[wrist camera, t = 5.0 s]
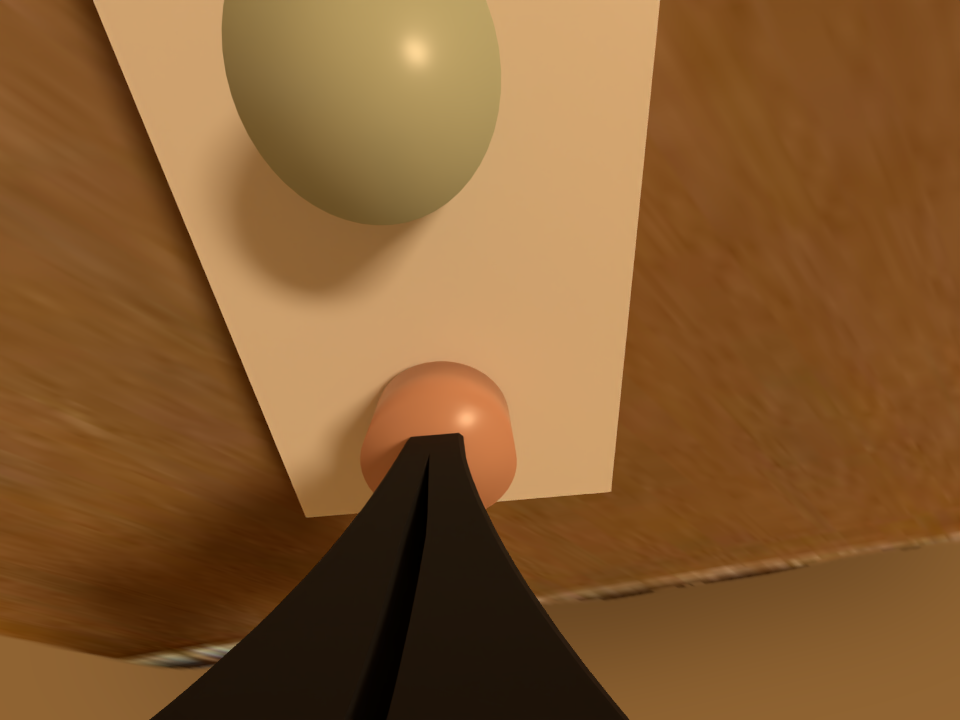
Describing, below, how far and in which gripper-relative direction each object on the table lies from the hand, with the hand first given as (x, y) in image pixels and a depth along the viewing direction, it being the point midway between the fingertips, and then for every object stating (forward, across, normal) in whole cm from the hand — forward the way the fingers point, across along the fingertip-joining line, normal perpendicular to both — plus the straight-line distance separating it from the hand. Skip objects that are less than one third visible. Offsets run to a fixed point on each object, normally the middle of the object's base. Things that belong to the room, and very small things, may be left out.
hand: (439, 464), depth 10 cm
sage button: (+2, 0, -8) cm, 8 cm away
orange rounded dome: (+3, 0, 0) cm, 3 cm away
